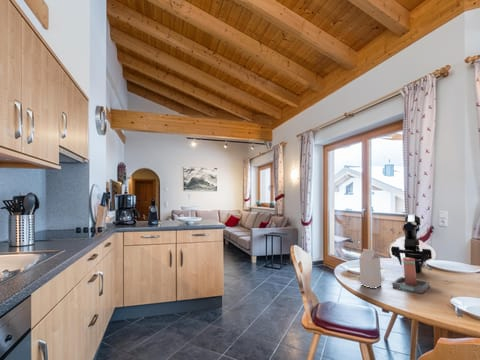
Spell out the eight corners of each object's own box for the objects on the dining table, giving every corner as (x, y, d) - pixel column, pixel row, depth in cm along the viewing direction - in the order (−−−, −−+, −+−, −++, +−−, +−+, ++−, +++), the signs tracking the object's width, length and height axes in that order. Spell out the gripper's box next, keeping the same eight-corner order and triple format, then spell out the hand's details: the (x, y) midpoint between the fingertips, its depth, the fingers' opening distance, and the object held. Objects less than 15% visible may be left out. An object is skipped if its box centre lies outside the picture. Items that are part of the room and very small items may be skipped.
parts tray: (392, 287, 135) (392, 282, 135) (401, 281, 144) (400, 276, 144) (422, 294, 126) (421, 288, 126) (429, 287, 134) (429, 282, 135)
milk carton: (372, 289, 133) (370, 251, 135) (360, 285, 140) (358, 249, 141) (381, 287, 137) (379, 250, 138) (369, 283, 143) (367, 247, 144)
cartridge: (402, 285, 137) (400, 257, 138) (410, 283, 138) (408, 256, 139) (411, 288, 132) (409, 259, 133) (419, 286, 133) (417, 258, 134)
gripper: (390, 232, 152) (389, 255, 143) (430, 234, 141) (431, 259, 132) (392, 243, 158) (391, 266, 149) (431, 246, 147) (432, 271, 138)
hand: (410, 265), depth 142 cm, fingers open, 9 cm apart
